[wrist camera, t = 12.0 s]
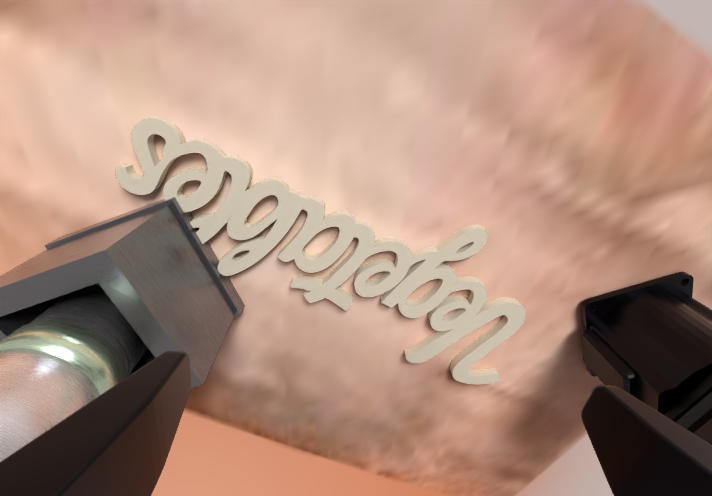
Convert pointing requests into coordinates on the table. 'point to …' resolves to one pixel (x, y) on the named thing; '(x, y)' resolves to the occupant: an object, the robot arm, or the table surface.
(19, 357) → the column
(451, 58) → the table surface
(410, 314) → the decorative sign
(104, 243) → the stand collar
